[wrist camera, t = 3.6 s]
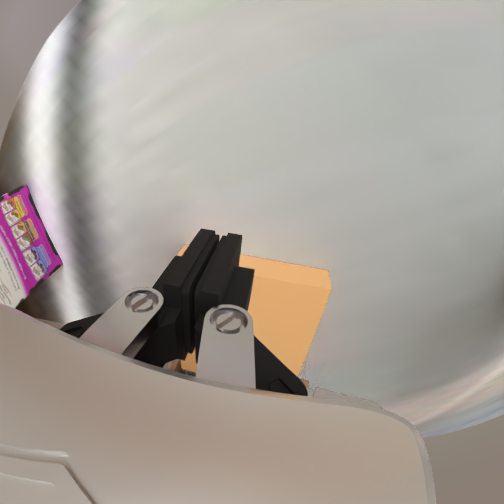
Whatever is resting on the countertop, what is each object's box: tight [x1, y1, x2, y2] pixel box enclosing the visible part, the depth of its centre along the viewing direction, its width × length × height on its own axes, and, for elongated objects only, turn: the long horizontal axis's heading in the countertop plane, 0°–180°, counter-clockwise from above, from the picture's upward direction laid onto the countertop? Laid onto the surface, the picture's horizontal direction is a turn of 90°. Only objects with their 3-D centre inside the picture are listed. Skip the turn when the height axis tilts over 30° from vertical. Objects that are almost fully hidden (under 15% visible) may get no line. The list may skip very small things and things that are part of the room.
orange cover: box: [176, 244, 331, 377], centre depth 24 cm, size 14×12×3 cm
